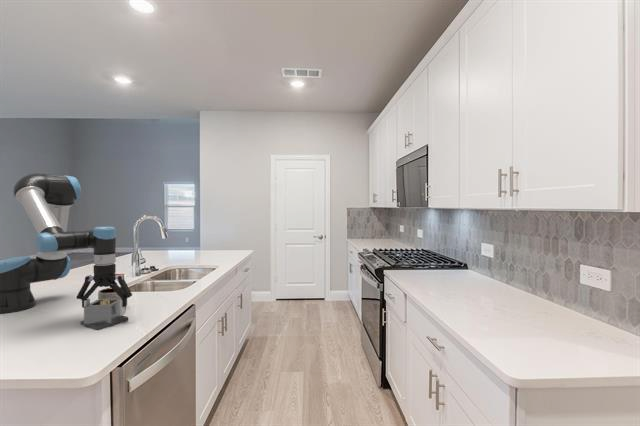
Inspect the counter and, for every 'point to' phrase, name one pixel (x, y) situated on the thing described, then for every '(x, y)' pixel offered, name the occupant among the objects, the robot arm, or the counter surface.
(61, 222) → the robot arm
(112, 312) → the collar
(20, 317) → the counter surface
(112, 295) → the planter
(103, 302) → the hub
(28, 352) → the counter surface
